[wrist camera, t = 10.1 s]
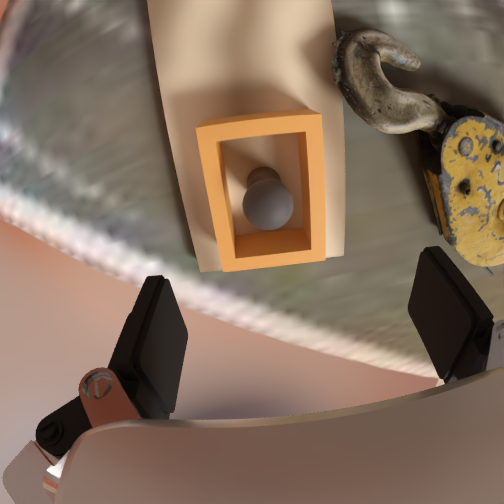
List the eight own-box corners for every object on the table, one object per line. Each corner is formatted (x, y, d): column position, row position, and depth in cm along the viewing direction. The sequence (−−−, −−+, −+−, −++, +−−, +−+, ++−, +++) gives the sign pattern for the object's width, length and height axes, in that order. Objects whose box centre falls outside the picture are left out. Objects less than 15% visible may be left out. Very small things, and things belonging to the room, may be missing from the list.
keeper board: (304, -91, 10) (324, -134, 4) (338, 246, 26) (364, 297, 20) (145, -72, 11) (115, -110, 5) (202, 262, 26) (192, 318, 21)
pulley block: (412, -39, 8) (574, 217, 17) (379, -25, 13) (546, 189, 22) (282, 130, 16) (497, 300, 25) (278, 109, 21) (477, 266, 30)
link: (309, 108, 18) (321, 114, 16) (316, 237, 24) (325, 260, 21) (202, 121, 19) (195, 128, 16) (225, 248, 24) (223, 272, 21)
